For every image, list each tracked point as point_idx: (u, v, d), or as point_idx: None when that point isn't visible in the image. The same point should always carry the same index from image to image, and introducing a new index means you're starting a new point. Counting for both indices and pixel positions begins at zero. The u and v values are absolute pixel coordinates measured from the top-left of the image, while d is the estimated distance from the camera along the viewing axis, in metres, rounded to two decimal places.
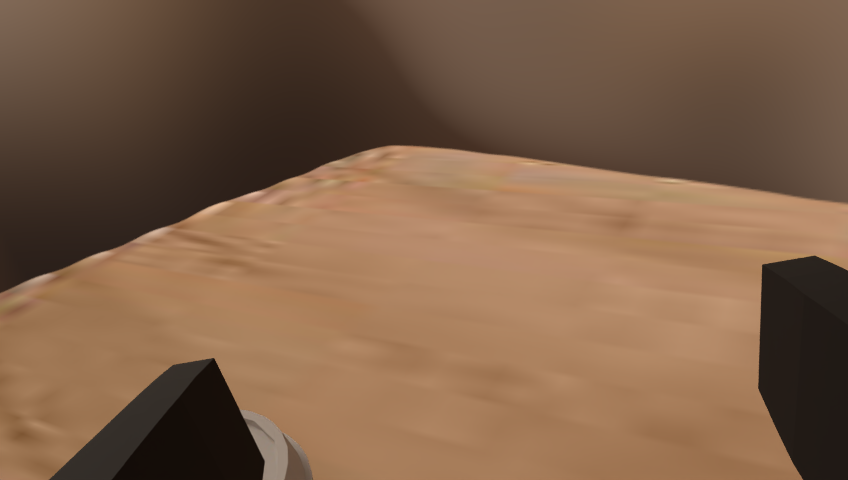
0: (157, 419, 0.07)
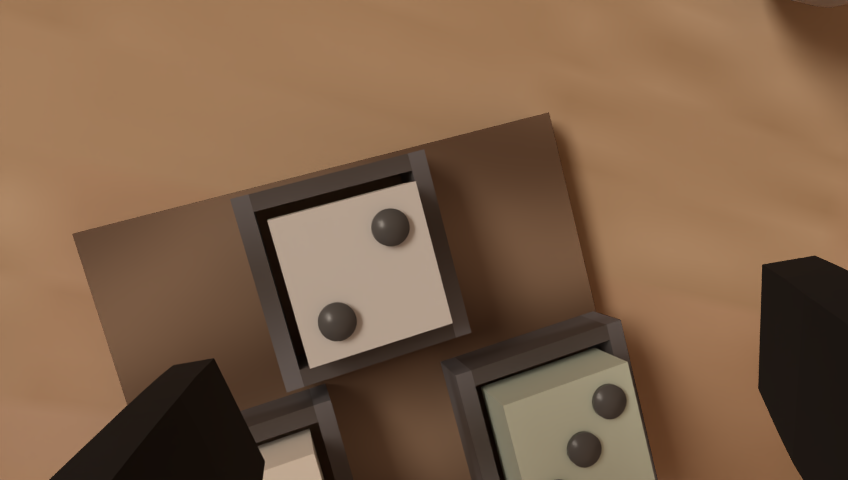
0: (158, 419, 0.07)
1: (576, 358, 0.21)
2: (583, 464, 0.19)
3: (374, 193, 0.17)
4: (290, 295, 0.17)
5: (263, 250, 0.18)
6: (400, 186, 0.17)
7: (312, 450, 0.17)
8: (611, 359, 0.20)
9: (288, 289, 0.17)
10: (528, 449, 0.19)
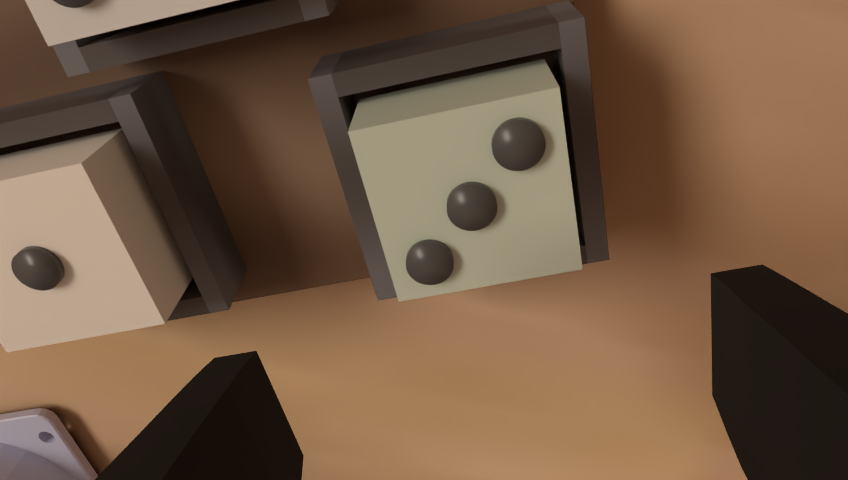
0: (207, 411, 0.07)
1: (505, 72, 0.13)
2: (468, 226, 0.13)
3: None
4: None
5: None
6: None
7: (85, 158, 0.13)
8: (542, 80, 0.12)
9: None
10: (387, 196, 0.13)
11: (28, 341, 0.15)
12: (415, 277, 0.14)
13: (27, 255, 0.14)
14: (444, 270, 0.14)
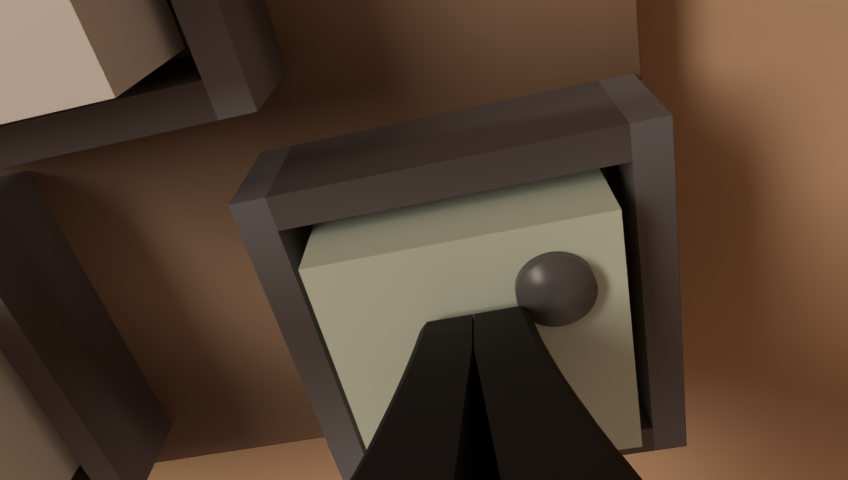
0: (466, 371, 0.07)
1: None
2: None
3: None
4: None
5: None
6: None
7: None
8: (592, 192, 0.08)
9: None
10: (360, 354, 0.09)
11: None
12: None
13: None
14: None
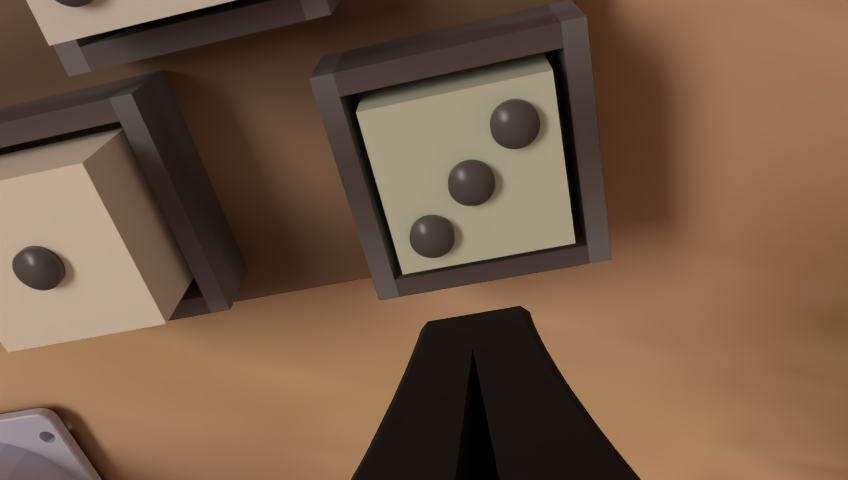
0: (467, 370, 0.07)
1: None
2: (468, 202, 0.14)
3: None
4: None
5: None
6: None
7: (86, 158, 0.13)
8: (537, 65, 0.13)
9: None
10: (393, 173, 0.14)
11: (29, 340, 0.15)
12: (418, 250, 0.15)
13: (27, 255, 0.14)
14: (445, 244, 0.15)
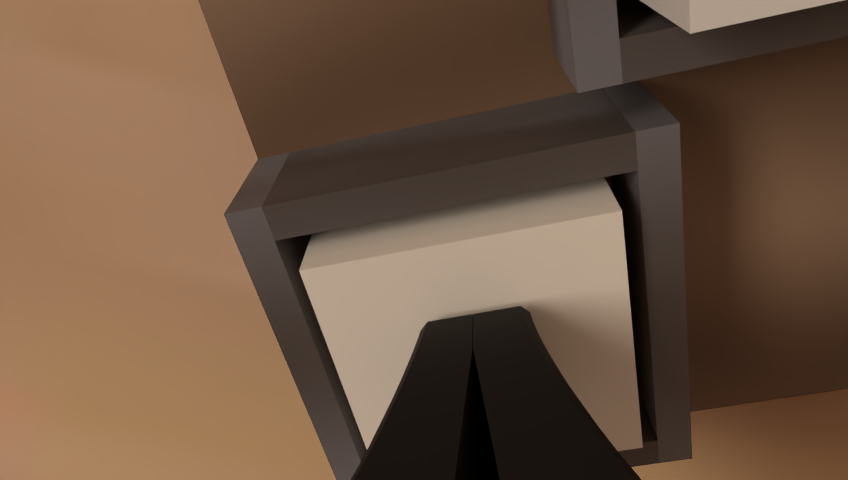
0: (467, 370, 0.07)
1: None
2: None
3: None
4: None
5: None
6: None
7: (614, 202, 0.08)
8: None
9: None
10: None
11: None
12: None
13: None
14: None
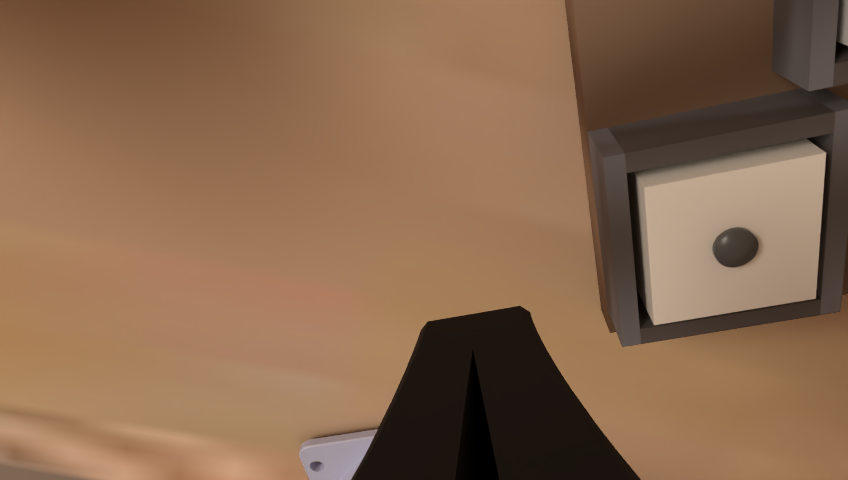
0: (468, 371, 0.07)
1: None
2: None
3: None
4: None
5: None
6: None
7: (819, 149, 0.15)
8: None
9: None
10: None
11: (680, 314, 0.17)
12: None
13: (737, 235, 0.15)
14: None
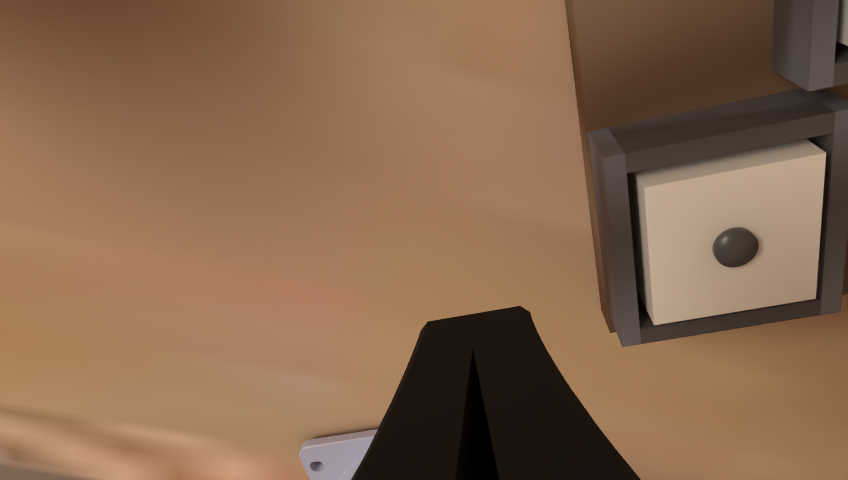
0: (468, 371, 0.07)
1: None
2: None
3: None
4: None
5: None
6: None
7: (819, 149, 0.15)
8: None
9: None
10: None
11: (680, 314, 0.17)
12: None
13: (737, 235, 0.15)
14: None
